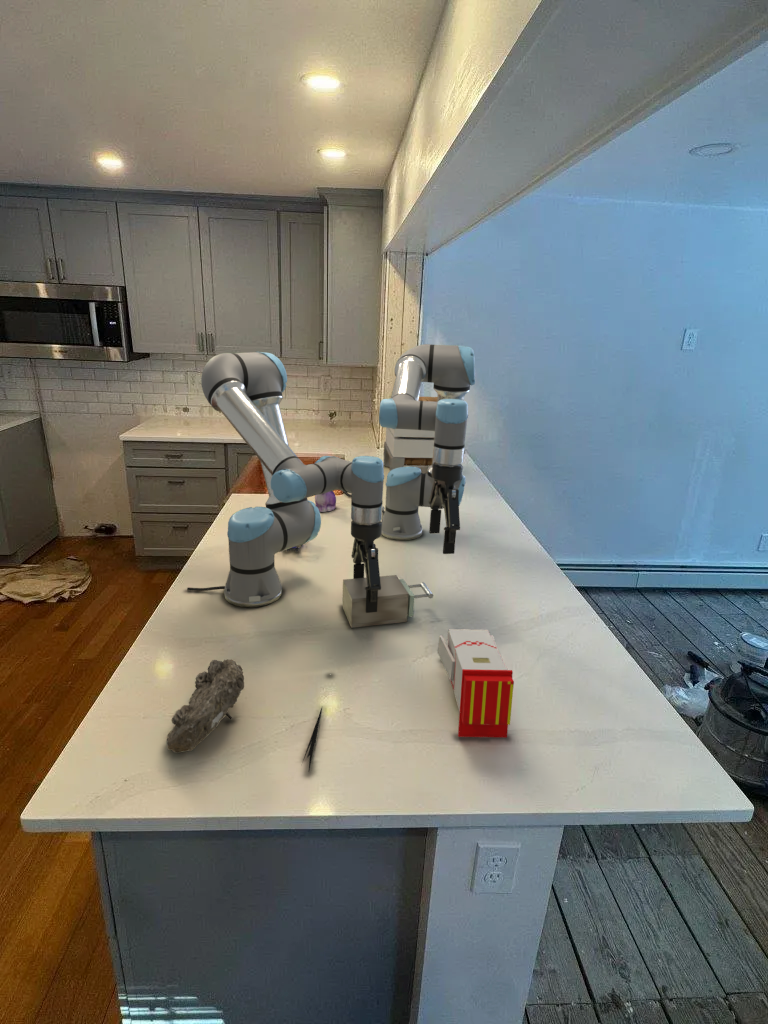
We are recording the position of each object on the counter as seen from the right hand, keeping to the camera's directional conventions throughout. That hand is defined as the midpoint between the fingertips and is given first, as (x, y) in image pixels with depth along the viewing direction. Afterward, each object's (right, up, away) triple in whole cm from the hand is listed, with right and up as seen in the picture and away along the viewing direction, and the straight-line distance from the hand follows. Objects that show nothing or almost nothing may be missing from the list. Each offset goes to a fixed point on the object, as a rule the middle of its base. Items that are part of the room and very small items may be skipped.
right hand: (441, 542), depth 147 cm
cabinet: (-17, -18, 0) cm, 25 cm away
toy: (+3, -30, -28) cm, 41 cm away
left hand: (-20, -14, -3) cm, 24 cm away
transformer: (+2, +27, +128) cm, 131 cm away
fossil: (-48, -31, -39) cm, 69 cm away
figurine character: (-44, -3, +39) cm, 59 cm away
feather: (-27, -32, -38) cm, 57 cm away
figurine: (-38, +9, +74) cm, 84 cm away
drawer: (-12, -17, +1) cm, 21 cm away
